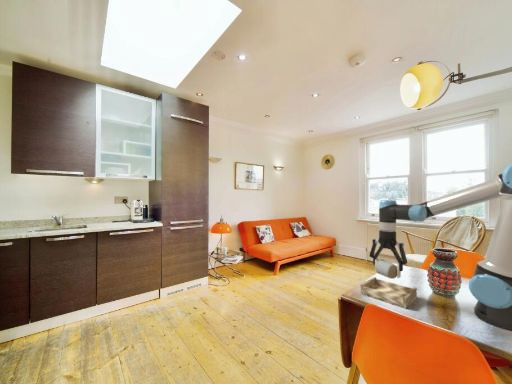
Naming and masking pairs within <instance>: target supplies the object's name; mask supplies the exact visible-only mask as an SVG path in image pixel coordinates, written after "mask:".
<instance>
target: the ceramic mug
mask: <svg viewBox="0 0 512 384" xmlns="http://www.w3.org/2000/svg"><path fill="white" fill-rule="evenodd" d="M375 269H376V272H375V273H377V274H379V275H381V276H383V277H386V278H389V279H395V278H397V265H396V264H394V263H392V262H390V261H387V260H385V259H379V261H377V263H376V266H375V265H374V270H375Z"/></svg>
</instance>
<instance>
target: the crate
mask: <svg viewBox="0 0 512 384" xmlns="http://www.w3.org/2000/svg"><path fill="white" fill-rule="evenodd" d="M359 286H360V294H361V293H362V294H361V295H363V294H364V296H366V295H367V296H366V297H370V298H372V299H375V300H379V301H380V302H384V303H387V304H390V305H393V306H396V307H398V308H402V309H407V308H408V307H409V306H410V305H411V304H413V302H414V301H415V300H416V299H417V298H418V297H417V296H418V295H417V292H418V291H417V290H418V288H417V287H413V288H412V287H408V286H405V285H401V284H397V283H394V282H391V281H387V280H383V279H379V278H377V276H373V277H372V278H369V279H368V280H366V281H364V282H363V283H360V285H359Z"/></svg>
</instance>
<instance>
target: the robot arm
mask: <svg viewBox="0 0 512 384" xmlns="http://www.w3.org/2000/svg"><path fill="white" fill-rule="evenodd" d="M498 198H503V200H502V203H501V206H500V209H499V213H498V215H497V219H496V223H495V226H494V228H493V231H492V232H493V233H492V235H491V238H490V242H489V244H488V248H487V250H486V254H485V257H484V259H483V260H480V261H477V263H476V266H475V268H474V269H475V270H474V273H473V276H472V277H471V278H470V279H469V281H468V289H469V292H470V293H471V295H472V296H473V297H474V298H475V300H477V302H476V304H475V306H474V307H473V309H474V312H473V313H474V315H475V316H476V318H478V319H479V320H481V321H483V322H485V323H487V324H489V325H493V326H494V327H498V328H501V329H505V330H509V331H512V162H510V163H509V164H508V165H506V167H505V168H504V169H503V171H502V173H500V174H498V175H496V176H495V178H493V179H491V180H487V181H484V182H482V183H478V184H476V185H473V186H469V187H467V188H462V189H460V190H457V191H454V192H452V193H449V194H445V195H441V196H440V197H436V198H434V199H430V200H427V201H425V202H420V203H418V204H398V203H397V200H395V199H393V200H387V199H385V200H384V199H383V200H380V201H379V205H378V214H379V216H378V218H379V219H378V220H379V221H378V229H379V232H378V239H376V238H374V239H372V245H371V249H370V252H369V255H368V256H369V257H370V258H372V260H373V261H372V264H373V266H374V267H375V266H376V263H377V261H379V260H380V259H379V258H378V257H379V255H380V254H381V252H382V251H383V250H384V249H387V250H390V251H391V252H392V254H393V256H394V258H395V259H396V261H397V265H396V266H397V277H396V278H397V279H399V278H401V277H402V275H401V272H402V271H403V270H404V265H406V264H408V260H407V256H406V251H405V249H404V245H405V244H404V242H398V241H397V232H396V231H397V221H398V220H399V221H407V222H408V221H409V222H415V223H416V222H421V223H422V222H425V220H427V219H429V218H432V217H435V216H438V215H441V214H445V213H449V212H453V211H456V210H460V209H463V208H466V207H470V206H474V205H477V204H480V203H481V204H482V203H485V202H488V201H492V200H496V199H498ZM378 244H379V247H378V248H377V245H378ZM396 246H397V247H398V248H399V252H398V250H397V248H396ZM376 248H377V250H376ZM374 272H375V273H377V272H376V269H375V268H374Z"/></svg>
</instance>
